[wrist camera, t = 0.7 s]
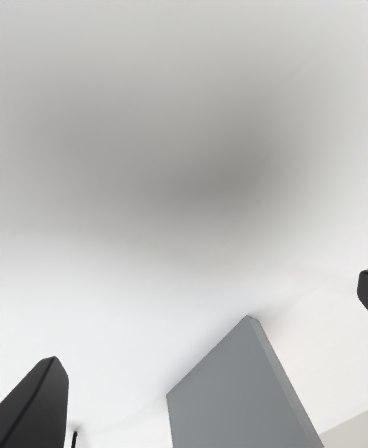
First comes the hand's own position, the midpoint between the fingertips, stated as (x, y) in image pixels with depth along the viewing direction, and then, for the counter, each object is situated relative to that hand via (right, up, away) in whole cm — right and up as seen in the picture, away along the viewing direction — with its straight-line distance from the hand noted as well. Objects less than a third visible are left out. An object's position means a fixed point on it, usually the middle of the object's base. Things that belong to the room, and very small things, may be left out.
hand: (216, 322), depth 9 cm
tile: (+2, -10, +21) cm, 23 cm away
